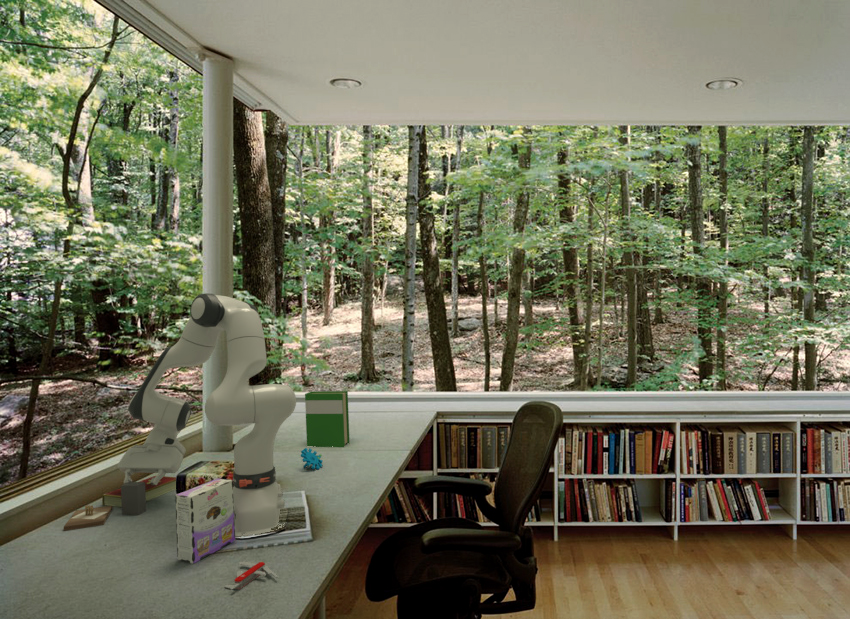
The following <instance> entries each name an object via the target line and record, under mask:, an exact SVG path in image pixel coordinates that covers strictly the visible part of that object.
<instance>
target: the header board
mask: <svg viewBox="0 0 850 619" xmlns="http://www.w3.org/2000/svg"><path fill="white" fill-rule="evenodd" d="M84 506H85V507H84V509H78V510H75V511H73V512H74V513H72V515H71V517H70V518H68V520H67V521H66V523H65V525H64V526H63V531H64V532H66V531H71V530H78V529H83V528H92V527H96V526H97V527H98V526H104V525H105V523H106V522H107V520H108V518H109V516H110V515H111V513H112V512H113V507H114V506H113V505H111V506H109V505H103V506H97V507H94V505H84Z"/></svg>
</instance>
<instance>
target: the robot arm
mask: <svg viewBox="0 0 850 619" xmlns="http://www.w3.org/2000/svg"><path fill="white" fill-rule="evenodd" d="M189 314H190V317H189V318H188V320H187V322H186V324H185V326H184V329H183V331H182V333H181V336H180V338H179V340H178V341H177V342H176V343H175V344H174V345H172V346H167V347H166V348H165V349H164V350H163V351H162V352H161V354H160V355H159V356H158V358H157V359H156V362H154V365H153V366H152V368H150V371H149V373H148V374H147V376H146V378H145V379H144V381H143V382H142V384H141V385H140V387H139V389H138V390H137V391H136V392H135V394H134V395H133V396H132V398H131V399H130V401H129V404H128V407H127V410H128V412H129V414H130V416H131V418H133V420H137V421H142V422H148V423H151V424H154V426H153V428H152V429H151V430H150V431H149V432H148V435H147V437H146V439H145V441H144V443H143V444H139V445H138V444H135V445H134V444H133V446H131V447H128V449H127V451H125V453H124V454H123V456H122V457H121V459H120V460H119V462H118V463H117V468H118V470H120V471H121V472H122V473H124V476H125V477H124V480H123V482H122V483H123V484H125V483H128V482H133V479H132V478H131V476H133V475H134V474H135V473H138V474H139V473H140V474H141V473H142V474H143V473H144V474H146V473H147V474H156V475H157V476H156V475H155V476H156V477H155V478H152V479H151V481H150V484H152V485H157V484H158V482H159V480H161V479H162V478H163V477H164V476H166V474H176V473H177V472H178V471H179V470H180V468H181V465H182V462H183V461H184V455H185V453H186V451H187V449H186V448H185V447H184V445H183V444H182V443H181V442H180V441H179V440H178V439H177V438H178V436H179V434H181V431H182V430H184V429H185V428H186V425H187V423H188V422H189V419H190V418H191V415H192V410H191V406H190V404H189V403H188V402H187V401H185V400H183V399H180V398H177V397H174V396H170V395H167V394H162V393H161V392H157V391H156V388H157V386H158V384H159V383H160V381H161V379H162V378H163V377H164V375H165V373H166V371H167V370H169V369H173V368H190V367H196V366H200V365H203V364H204V363H206V362H208V360H210V358H211V356H212V355H213V353H214V350H215V348H216V345H217V342H218V340H219V336H220V334H221V333H223V332H226V347H227V369H226V373H225V375H224V378H223V380H222V381H221V382H220V384H219V385H218V386H217V387H216V389H214V390H213V391H212V392H211V393H210V394H209V395H208V396H207V398H206V401H205V404H204V412H205V413H204V414H205V417H206V418H207V420H208V421H209V423H211V424H212V425H214V426H224V427H225V426H226V427H227V426H229V427H231V426H239V425H240V426H241V425H247V424H254V426H253V427H252V429H251V431H250V432H249V433H247V434H245V435H244V436H242V437H241V438H239V440H237V441H236V443H235V444H234V447H233V461H234V464H233V465H234V471H233V473H232V481H233V502H234V523H235V537H241V536H248V535H253V534H261V533H265V532H270V531H274V530H271V528H274V527H276V526H277V525H278V524H279V523H278V522H279V514H280V508H285V500H284V499H282V498H283V496H284V493H283V492H282V491H281V488H282V487H281V484H279V483H278V482H277V481H276V480H277V478H276V477H277V476H276V474H277V473H276V472H277V470H276V466H274V451H275V450H274V449H275V448H274V447H275V446H274V445H275V439H276V436H277V433H278V431H279V429H280V428H281V426H282V424H284V422H285V421H287V419H288V418H289V417H291V416H292V414H293V413H294V411H295V410H296V406H297V396H296V393H295V391H294V390H293V388H292V387H291V386H290V385H288V384H278V383H267V384H256V385H249V382H248V381H249V379H250V378H252V377H254V376H256V375H258V374H259V373H260V372H262V371H263V370H264V369H265V367H266V366H267V362H268V359H267V358H268V357H267V352H266V351H267V350H266V342H265V340H266V339H265V334H264V328H263V323H262V321H261V317H260V314H259V311H258V309H257V307H256V306H255V305H253V304H251V303H250V302H247V301H243V300H240V299H236V298H233V297H231V296H225V295H219V294H215V293H200V294H198V295H197V296H195V298H194V299H193V300H192V302H191V305H190V309H189ZM284 524H285V523H284ZM284 524H283V525H284ZM279 525H281V526H279ZM279 525H278V526H279V527H278V529H279V528H282V524H279ZM283 527H284V526H283ZM276 530H277V529H276ZM243 534H245V535H243Z"/></svg>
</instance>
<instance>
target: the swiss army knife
mask: <svg viewBox="0 0 850 619" xmlns="http://www.w3.org/2000/svg"><path fill="white" fill-rule="evenodd" d="M239 564H240V565H243V566H248V568H249V569H248V570H246V571H243V570H238V571H237V572H236V577H235V579H234V583H233V584H226V585H223V587H224V588H226V589H230V590H235V589H236V590H241V589H242V588H244V587H245V586H247V585H248V584H249V583H251V582H252V581H253V580H255V579H256V578H258V577H259V576H260V575H261V576H264V577H265V576H267V574H268V575H272V576H273V577H275V578H276V579H278V577H279V576H278V575H277V574H276V573H275V572H273V570H272V569H271V568H269V567H268V566H267V565H266V563H265V562H264V561H259V562H258V563H256V562H255V563H253V562H247V561H239V562H238V565H239Z"/></svg>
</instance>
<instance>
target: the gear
mask: <svg viewBox="0 0 850 619" xmlns="http://www.w3.org/2000/svg"><path fill="white" fill-rule="evenodd" d="M308 448H309V449H308ZM300 453H301V454H300V457H301V458H302V462H303V463H304V464H303V466H302V467H303V468H304V469H306V468H307V467H310V466H311V465H312V466H311V467H310V468H311V469H312V470H315V468H316V470H319V469H320V468H322V467H323V460H322V459H321V458H322V456H323V455H322V454H321V453H320V454H318V455H317V453H318V452H317V451H316V450H314V451H313V449H312V448H311V447H304V449H302V450H301V451H300Z"/></svg>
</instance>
